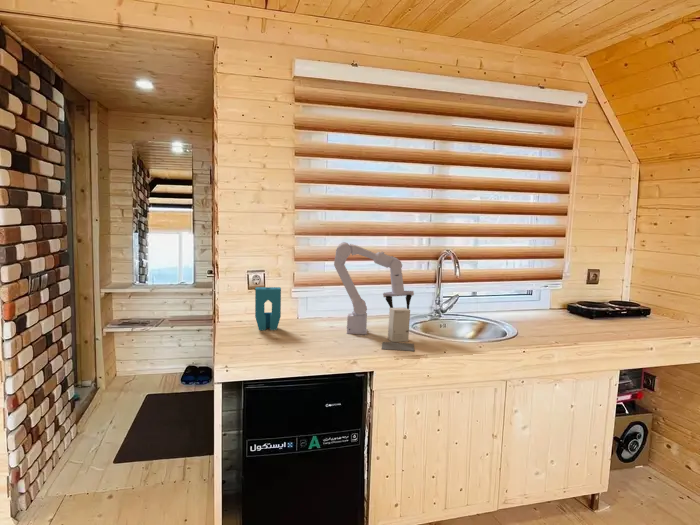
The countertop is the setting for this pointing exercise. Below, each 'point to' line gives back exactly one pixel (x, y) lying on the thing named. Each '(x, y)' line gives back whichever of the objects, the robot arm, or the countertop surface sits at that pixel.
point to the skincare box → (398, 324)
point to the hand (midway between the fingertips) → (400, 310)
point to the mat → (398, 346)
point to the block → (261, 297)
